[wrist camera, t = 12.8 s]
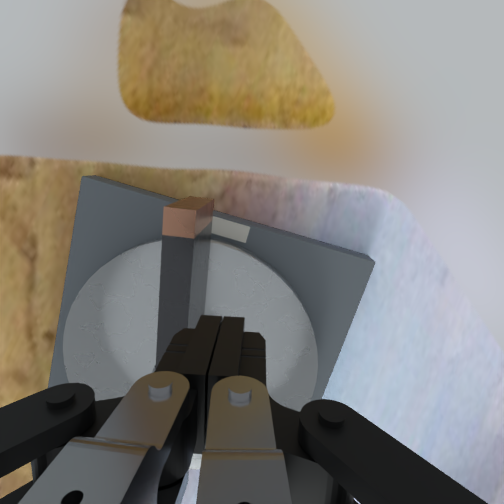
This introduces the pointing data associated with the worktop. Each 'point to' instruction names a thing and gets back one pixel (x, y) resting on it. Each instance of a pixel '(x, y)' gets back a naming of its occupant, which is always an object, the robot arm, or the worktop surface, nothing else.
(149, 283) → the rotary knob
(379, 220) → the worktop surface
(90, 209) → the plinth
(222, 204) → the worktop surface
